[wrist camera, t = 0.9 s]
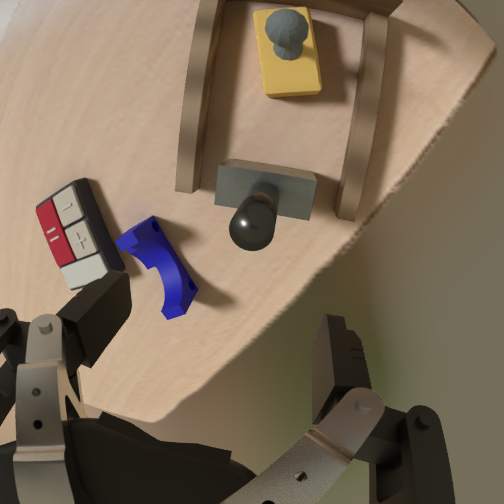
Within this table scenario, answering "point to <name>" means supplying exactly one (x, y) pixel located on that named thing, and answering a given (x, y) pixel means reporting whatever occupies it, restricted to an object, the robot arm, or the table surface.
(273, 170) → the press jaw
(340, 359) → the robot arm
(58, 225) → the calculator
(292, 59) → the rubber stamp
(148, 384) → the table surface
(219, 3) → the frame
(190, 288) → the blue pipe saddle
